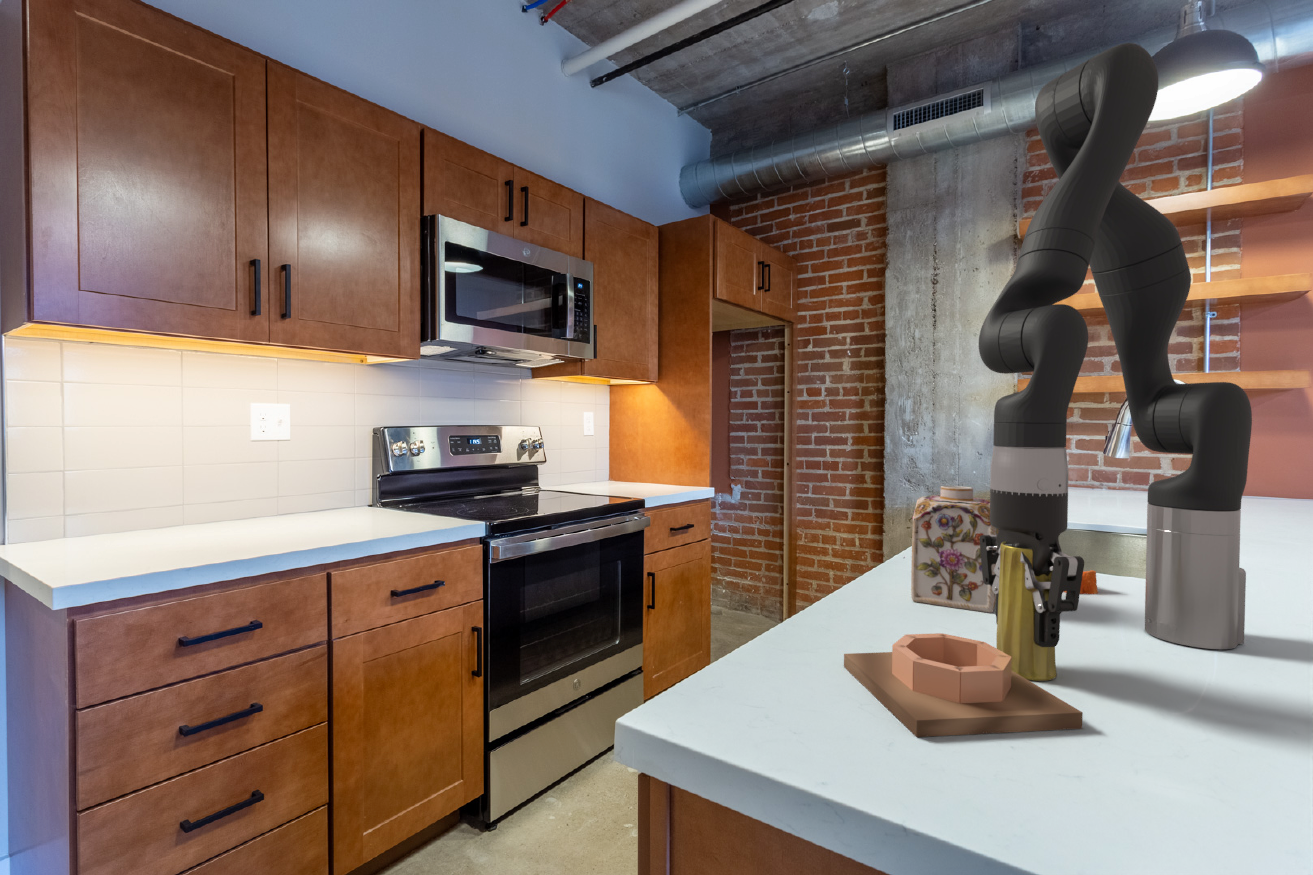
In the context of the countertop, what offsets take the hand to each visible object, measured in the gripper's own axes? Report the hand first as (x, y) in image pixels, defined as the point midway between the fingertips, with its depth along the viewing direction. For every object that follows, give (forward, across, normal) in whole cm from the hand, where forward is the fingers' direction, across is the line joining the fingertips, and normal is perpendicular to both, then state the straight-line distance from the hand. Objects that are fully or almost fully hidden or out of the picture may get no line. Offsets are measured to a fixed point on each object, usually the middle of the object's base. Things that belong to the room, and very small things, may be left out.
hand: (1025, 635), depth 70 cm
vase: (+4, 0, 0) cm, 4 cm away
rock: (+5, +31, -32) cm, 45 cm away
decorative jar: (+4, +28, -9) cm, 30 cm away
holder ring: (+3, -5, +12) cm, 13 cm away
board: (+4, -5, +12) cm, 14 cm away
